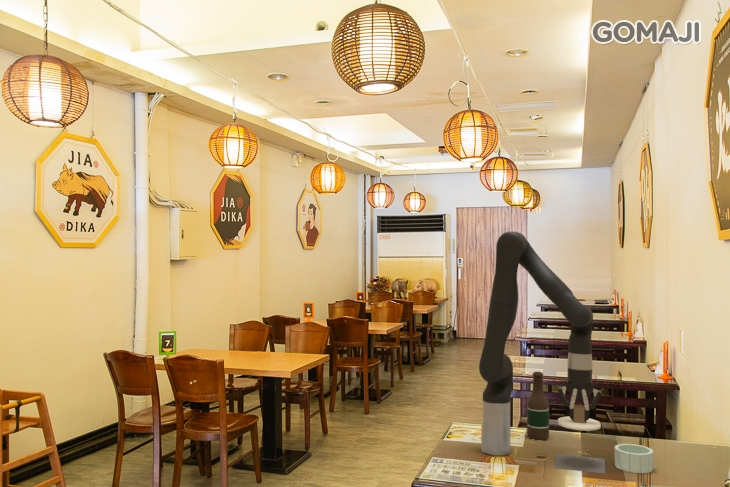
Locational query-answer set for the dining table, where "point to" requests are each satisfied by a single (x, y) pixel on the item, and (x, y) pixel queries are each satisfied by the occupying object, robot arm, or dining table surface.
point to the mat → (580, 463)
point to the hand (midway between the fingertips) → (579, 420)
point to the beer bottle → (538, 411)
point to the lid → (579, 420)
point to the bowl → (634, 458)
